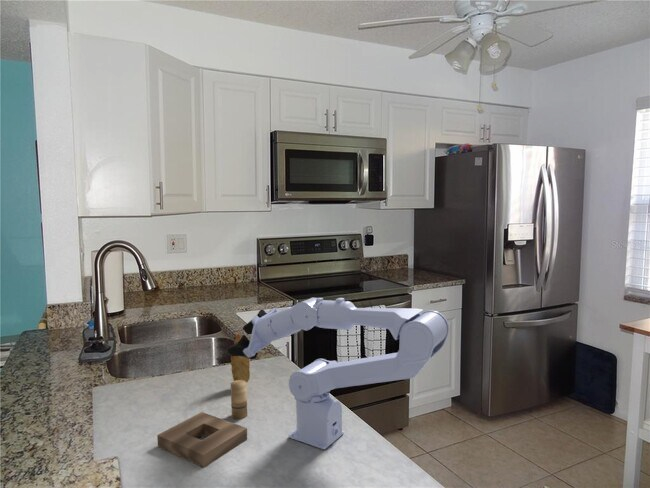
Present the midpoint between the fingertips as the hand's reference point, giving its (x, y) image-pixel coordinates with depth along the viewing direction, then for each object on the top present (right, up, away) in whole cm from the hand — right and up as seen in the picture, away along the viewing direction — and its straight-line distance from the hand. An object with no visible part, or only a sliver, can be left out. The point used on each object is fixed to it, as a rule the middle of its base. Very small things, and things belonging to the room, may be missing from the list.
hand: (238, 341), depth 107 cm
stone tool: (-2, -16, +16) cm, 23 cm away
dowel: (0, -18, 0) cm, 18 cm away
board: (-5, -19, -12) cm, 23 cm away
